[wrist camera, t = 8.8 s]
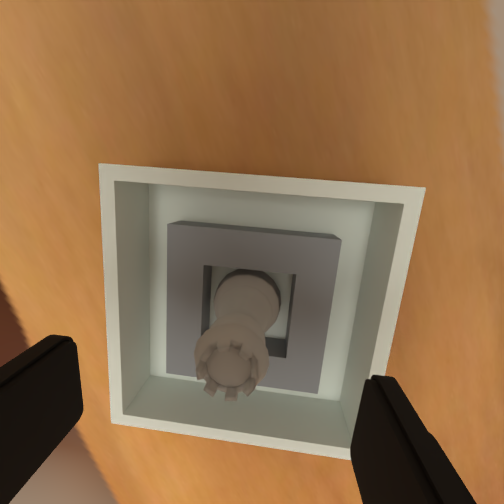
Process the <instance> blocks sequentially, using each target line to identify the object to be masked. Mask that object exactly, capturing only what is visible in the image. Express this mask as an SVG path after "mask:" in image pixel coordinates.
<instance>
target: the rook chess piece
mask: <svg viewBox="0 0 504 504" xmlns="http://www.w3.org/2000/svg"><path fill="white" fill-rule="evenodd" d="M213 302H214V310H215V316H216V317H217V319H216V321H215V322H214V323H213V324H212V325H211V327H210V329H208V330H206V331H205V332H204V334H203V335H202V336H201V337H200V338H199V339H198V340H197V343H196V347H195V351H194V358H195V365H196V369H195V370H196V376H197V380H200V379H204V380H205V381H206V384H205V387H204V391H205V392H207V393H208V394H209V395H210V396H212V397H213V396H214V395H215V393H216V391H217V390H220V391H223V392H226V394H225V401H237V397H238V393H239V392H242V391H243V393H244V394H245V395H246V396H247V397H248V396H249V395H250V394H251V393H252V392H253V391H254V390H255V387H256V385H257V384H258V383H259V382H260V381H261V380H262V379H263V378H264V377H265V375H266V373H267V370H268V367H269V355H268V350H267V348H266V346H265V344H266V342H265V332H267V331H268V329H269V328H270V327H271V326H272V325H273V324H274V323H275V322H276V320H277V317H278V314H279V312H280V306H281V295H280V290H279V288H278V287H277V285H276V283H275V281H274V280H273V279H272V278H271V277H270V276H268V275H267V274H266V273H265V272H263V271H258V270H248V269H237V270H235V271H233V272H231V273H229V274H227V275H226V276H225V277H224V278H223V279H222V281H221V282H220V283H219V285H218V288H217V290H216V293H215V297H214V300H213Z"/></svg>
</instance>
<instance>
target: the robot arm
mask: <svg viewBox="0 0 504 504" xmlns="http://www.w3.org/2000/svg"><path fill="white" fill-rule="evenodd" d="M82 413H83V399H82V389H81V380H80V371H79V362H78V353H77V345H76V343H75V342H73V339H72V338H71V337H69V336H61V335H49V336H47V337H46V338H44V339H43V340H41V341H40V342H38V343H36V344H35V345H33V346H32V347H30V348H29V349H27V350H26V351H24V352H23V353H21V354H20V355H18V356H17V357H15V358H14V359H12V360H11V361H9V362H8V363H6V364H5V365H3V366H2V367H0V504H9V503H10V501H11V500H12V499H13V498H14V497H15V495H16V494H17V493H18V492H19V491H20V489H21V488H22V487H23V486H24V485H25V484H26V482H27V481H28V480H29V479H30V477H31V476H32V475H33V474H34V473H35V472H36V470H37V469H38V468H39V467H40V466H41V464H42V463H43V462H44V461H45V460H46V459H47V457H48V456H49V455H50V454H51V453H52V451H53V450H54V449H55V448H56V447H57V446H58V444H59V443H60V442H61V441H62V440H63V438H64V437H65V436H66V435H67V434H68V432H69V431H70V430H71V429H72V428H73V427H74V425H75V424H76V423H77V422H78V420H79V419H80V417H81V415H82ZM350 456H351V461H352V465H353V469H354V472H355V476H356V480H357V483H358V487H359V491H360V494H361V498H362V502H363V504H476V502H475V500H474V499H473V497H472V496H471V494H470V493H469V491H468V489H467V488H466V486H465V485H464V483H463V481H462V480H461V478H460V477H459V475H458V474H457V472H456V470H455V469H454V467H453V466H452V464H451V462H450V461H449V459H448V458H447V456H446V454H445V453H444V451H443V450H442V448H441V447H440V445H439V443H438V442H437V440H436V439H435V438H434V436H433V435H432V434H430V433H429V432H428V431H427V429H426V428H425V426H424V424H423V423H422V421H421V419H420V418H419V416H418V415H417V413H416V411H415V410H414V408H413V406H412V405H411V403H410V402H409V400H408V398H407V397H406V395H405V394H404V392H403V390H402V389H401V387H400V385H399V384H398V382H397V381H396V379H395V378H394V377H390V376H382V375H372V376H371V379H366V380H365V383H364V387H363V391H362V396H361V400H360V405H359V410H358V414H357V419H356V423H355V428H354V432H353V437H352V441H351V446H350Z"/></svg>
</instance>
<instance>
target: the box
mask: <svg viewBox="0 0 504 504" xmlns="http://www.w3.org/2000/svg"><path fill="white" fill-rule="evenodd" d="M99 184H100V204H101V225H102V245H103V266H104V286H105V307H106V327H107V348H108V369H109V389H110V410H111V423H114V424H121V425H127V426H134V427H140V428H147V429H153V430H159V431H166V432H172V433H179V434H185V435H192V436H198V437H205V438H211V439H218V440H224V441H231V442H237V443H243V444H250V445H256V446H263V447H269V448H276V449H282V450H289V451H295V452H302V453H308V454H315V455H321V456H327V457H334V458H340V459H347V460H351V456H350V446H351V441H352V437H353V432H354V428H355V423H356V419H357V414H358V410H359V405H360V400H361V396H362V391H363V387H364V383H365V380H366V379H371V376H372V375H382V376H385V372H386V367H387V363H388V358H389V354H390V349H391V344H392V340H393V335H394V331H395V326H396V322H397V317H398V313H399V308H400V303H401V299H402V294H403V290H404V285H405V281H406V276H407V272H408V267H409V262H410V258H411V253H412V249H413V244H414V240H415V235H416V230H417V226H418V221H419V217H420V212H421V208H422V203H423V199H424V194H425V189H426V188H424V187H410V186H397V185H384V184H370V183H357V182H344V181H330V180H317V179H304V178H290V177H277V176H264V175H250V174H237V173H224V172H211V171H197V170H184V169H171V168H157V167H144V166H131V165H117V164H104V163H99ZM237 269H248V270H258V271H263V272H265V273H266V274H267V275H268V276H270V277H271V278H272V279H273V280H274V281H275V283H276V285H277V287H278V288H279V290H280V295H281V306H280V312H279V314H278V317H277V320H276V322H275V323H274V324H273V325H272V326H271V327H270V328H269V329H268V331H267V332H265V342H266V344H265V346H266V348H267V350H268V355H269V367H268V370H267V373H266V375H265V377H264V378H263V379H262V380H261V381H260V382H259V383H258V384H257V385H256V387H255V390H254V391H253V392H252V393H251V394H250V395H249V396H248V397H247V396H246V395H245V394H244V393H243V391H242V392H239V393H238V397H237V401H225V394H226V392H223V391H220V390H217V391H216V393H215V395H214V396H213V397H212V396H210V395H209V394H208V393H207V392H205V391H204V387H205V384H206V381H205V380H204V379H200V380H197V376H196V370H195V369H196V365H195V358H194V351H195V347H196V343H197V340H198V339H199V338H200V337H201V336H202V335H203V334H204V332H205V331H206V330H208V329H210V327H211V325H212V324H213V323H214V322H215V321H216V319H217V317H216V316H215V310H214V302H213V300H214V297H215V293H216V290H217V288H218V285H219V283H220V282H221V281H222V279H223V278H224V277H225V276H226V275H227V274H229V273H231V272H233V271H235V270H237Z"/></svg>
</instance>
